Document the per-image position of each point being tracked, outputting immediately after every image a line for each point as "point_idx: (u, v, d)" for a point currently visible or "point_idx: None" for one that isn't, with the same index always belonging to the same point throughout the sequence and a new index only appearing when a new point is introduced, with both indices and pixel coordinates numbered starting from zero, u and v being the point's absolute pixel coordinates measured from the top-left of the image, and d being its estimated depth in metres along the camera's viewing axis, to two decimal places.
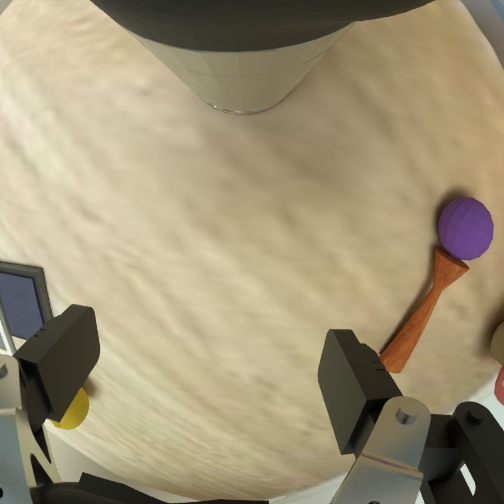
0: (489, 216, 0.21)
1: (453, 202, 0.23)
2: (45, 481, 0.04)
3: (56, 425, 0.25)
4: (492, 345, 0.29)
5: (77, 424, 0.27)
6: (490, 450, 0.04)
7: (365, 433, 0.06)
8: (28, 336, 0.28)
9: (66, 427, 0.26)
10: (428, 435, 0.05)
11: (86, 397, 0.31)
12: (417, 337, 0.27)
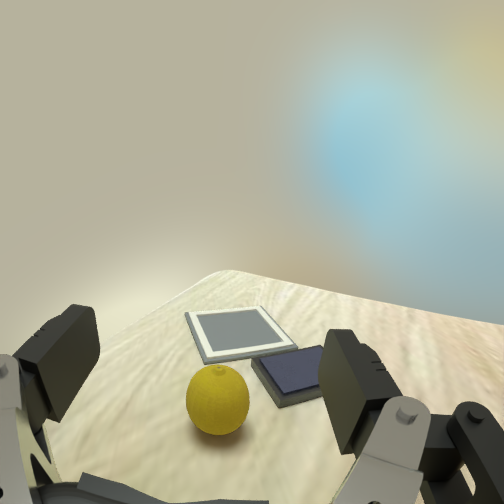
0: None
1: None
2: (45, 481, 0.04)
3: (220, 368, 0.23)
4: None
5: (217, 402, 0.21)
6: (490, 450, 0.04)
7: (365, 433, 0.06)
8: (273, 374, 0.32)
9: (216, 382, 0.22)
10: (428, 435, 0.05)
11: (231, 431, 0.23)
12: None
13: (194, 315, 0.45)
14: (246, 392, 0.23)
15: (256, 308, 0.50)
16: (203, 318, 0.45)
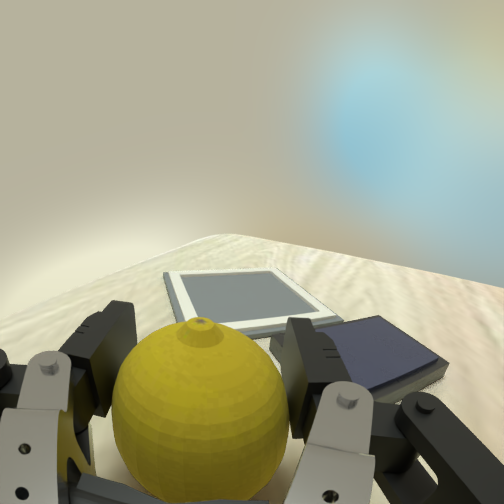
0: None
1: None
2: None
3: (207, 324, 0.07)
4: None
5: (190, 438, 0.06)
6: (447, 441, 0.04)
7: (310, 416, 0.07)
8: None
9: (188, 370, 0.06)
10: (372, 423, 0.06)
11: None
12: None
13: (176, 275, 0.30)
14: (285, 403, 0.07)
15: (270, 270, 0.34)
16: (190, 280, 0.30)
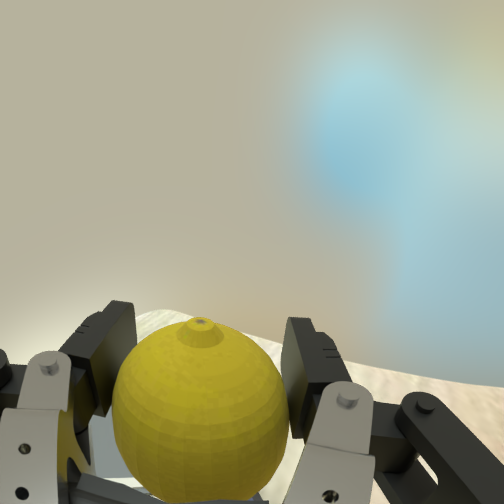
0: None
1: None
2: None
3: (206, 324, 0.07)
4: None
5: (190, 438, 0.06)
6: (447, 441, 0.04)
7: (310, 416, 0.07)
8: None
9: (188, 371, 0.06)
10: (372, 423, 0.06)
11: None
12: None
13: None
14: (285, 403, 0.08)
15: None
16: None
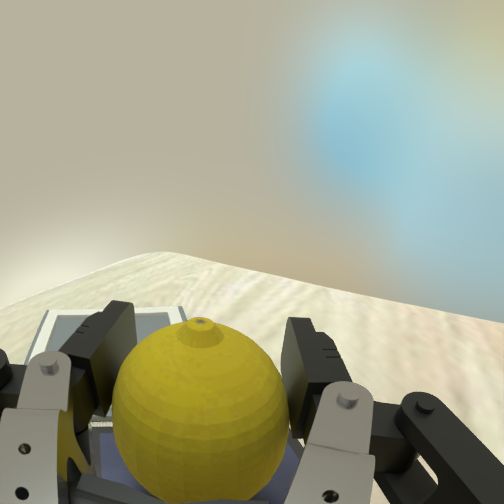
0: None
1: None
2: None
3: (206, 324, 0.07)
4: None
5: (190, 438, 0.06)
6: (447, 441, 0.04)
7: (310, 416, 0.07)
8: None
9: (188, 370, 0.06)
10: (372, 422, 0.06)
11: None
12: None
13: (54, 316, 0.21)
14: (285, 403, 0.07)
15: (168, 310, 0.25)
16: (66, 322, 0.21)
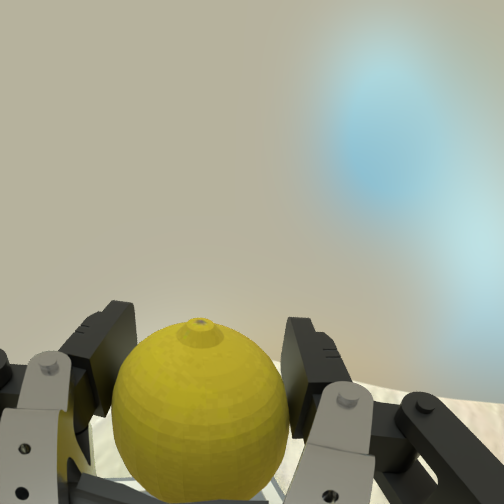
0: None
1: None
2: None
3: (206, 325, 0.07)
4: None
5: (189, 439, 0.06)
6: (447, 441, 0.04)
7: (310, 416, 0.07)
8: None
9: (188, 371, 0.06)
10: (372, 422, 0.06)
11: None
12: None
13: None
14: (285, 404, 0.07)
15: None
16: None
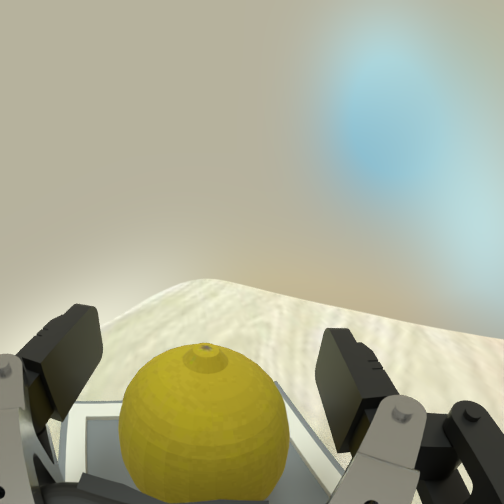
0: None
1: None
2: (47, 481, 0.04)
3: (212, 350, 0.07)
4: None
5: (196, 458, 0.06)
6: (487, 449, 0.04)
7: (361, 432, 0.06)
8: None
9: (194, 395, 0.06)
10: (424, 434, 0.05)
11: None
12: None
13: (80, 419, 0.12)
14: (286, 423, 0.08)
15: None
16: (104, 431, 0.12)
